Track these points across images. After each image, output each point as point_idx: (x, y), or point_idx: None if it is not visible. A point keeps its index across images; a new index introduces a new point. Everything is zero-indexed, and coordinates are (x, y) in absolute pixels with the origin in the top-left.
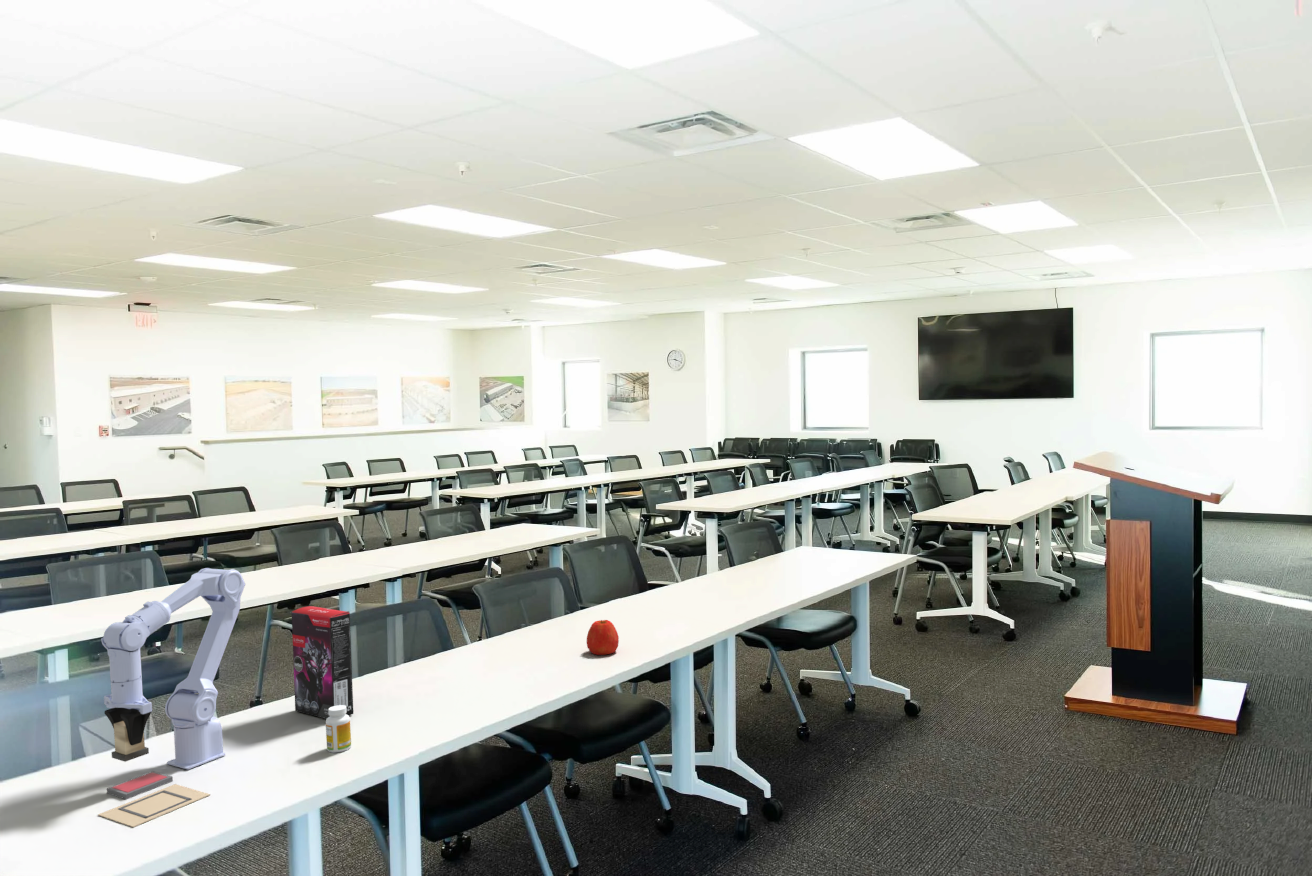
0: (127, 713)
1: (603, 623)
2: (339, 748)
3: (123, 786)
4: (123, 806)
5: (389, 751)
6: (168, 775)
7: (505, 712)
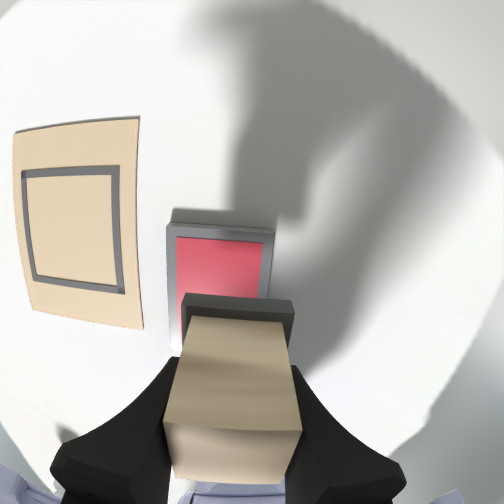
0: (106, 497)
1: None
2: None
3: (233, 261)
4: (118, 182)
5: (33, 448)
6: None
7: None
